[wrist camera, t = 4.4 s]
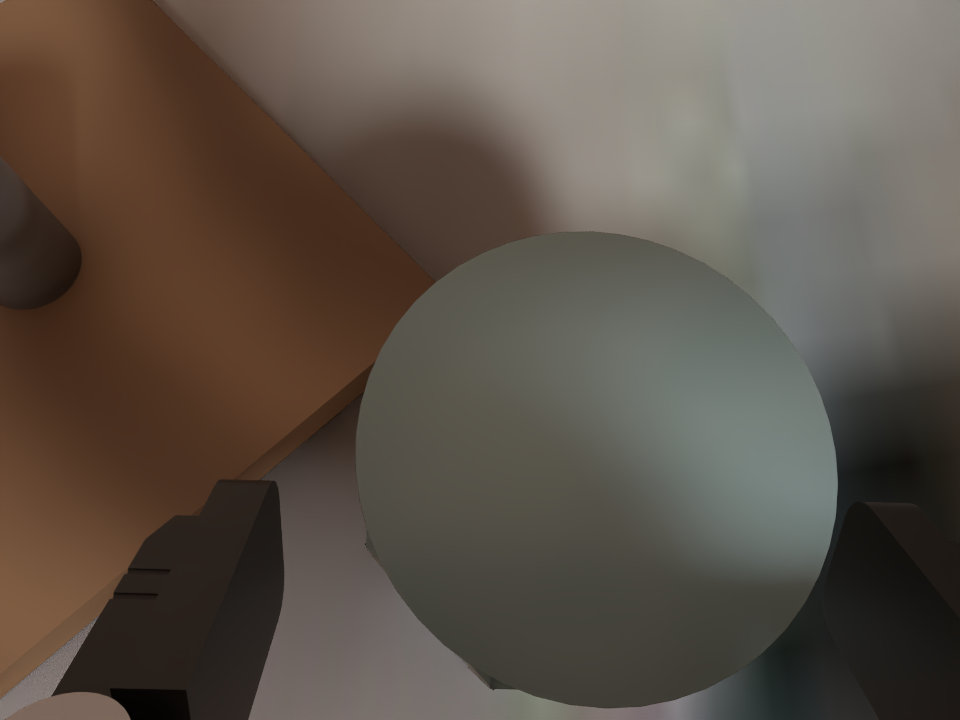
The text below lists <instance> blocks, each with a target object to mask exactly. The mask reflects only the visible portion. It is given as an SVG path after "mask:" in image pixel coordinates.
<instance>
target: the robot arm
mask: <svg viewBox="0 0 960 720" xmlns="http://www.w3.org/2000/svg"><path fill="white" fill-rule="evenodd" d="M283 590H284V560H283V546H282V531H281V516H280V502H279V491H278V486H277V484H276V482H275V481H261V480H231V479H220V480H218V481H217V483H216V484H215V486H214V488H213V490H212V492H211V494H210V495H209V497H208V499H207V501H206V503H205V505H204V507H203V509H202V511H201V513H200V515H199V516H190V515H175V516H174V517H173V518H171V519H170V520H169V521H167V522H166V523H165V524H164V525H162V526H161V527H160V528H159V529H157V530H156V531H155V532H154V533H152V534H151V535H150V536H149V537H147V538H146V539H145V540H144V542H143V544H142V545H141V547H140V549H139V550H138V552H137V554H136V555H135V557H134V559H133V560H132V562H131V564H130V565H129V567H128V573H127V574H124V575H123V577H122V579H121V580H120V582H119V584H118V586H117V587H116V589H115V591H114V592H113V598H112V599H109V601H108V602H107V604H106V606H105V607H104V609H103V611H102V612H101V614H100V616H99V617H98V619H97V621H96V622H95V624H94V626H93V627H92V629H91V631H90V632H89V634H88V636H87V638H86V639H85V641H84V643H83V644H82V646H81V648H80V649H79V651H78V653H77V654H76V656H75V658H74V659H73V661H72V663H71V664H70V666H69V668H68V669H67V671H66V673H65V674H64V676H63V678H62V679H61V681H60V683H59V684H58V686H57V688H56V690H55V691H54V693H53V694H52V696H51V697H48V698H46V699H43V700H40V701H38V702H35V703H33V704H31V705H29V706H27V707H25V708H23V709H21V710H19V711H17V712H16V713H14V714H13V715H11V716H9V717H8V718H7V719H5V720H248V718H249V715H250V711H251V708H252V705H253V702H254V698H255V695H256V692H257V688H258V685H259V682H260V678H261V675H262V672H263V669H264V665H265V662H266V659H267V655H268V652H269V649H270V645H271V642H272V639H273V635H274V632H275V629H276V626H277V622H278V619H279V615H280V611H281V605H282V599H283ZM822 603H823V614H824V619H825V622H826V626H827V628H828V631H829V633H830V635H831V637H832V639H833V640H834V642H835V644H836V645H837V647H838V649H839V651H840V652H841V654H842V656H843V658H844V659H845V661H846V663H847V664H848V666H849V668H850V670H851V671H852V673H853V675H854V677H855V678H856V680H857V682H858V683H859V685H860V687H861V689H862V690H863V692H864V694H865V696H866V697H867V699H868V701H869V702H870V704H871V706H872V708H873V709H874V711H875V713H876V715H877V716H878V718H879V720H960V545H959V544H958V543H956V542H955V541H949V540H948V539H947V537H946V536H945V535H944V534H943V533H942V532H941V531H940V530H939V529H938V527H937V526H936V525H935V524H934V523H933V522H932V521H931V520H930V519H929V517H928V516H927V515H926V514H925V513H924V512H923V511H922V510H921V509H920V508H919V507H918V506H916V505H914V504H909V503H879V502H856V503H854V504H853V505H851V507H850V508H849V509H848V511H847V513H846V516H845V519H844V522H843V525H842V529H841V532H840V535H839V539H838V542H837V545H836V548H835V552H834V555H833V558H832V562H831V565H830V568H829V571H828V575H827V578H826V581H825V585H824V589H823V598H822Z"/></svg>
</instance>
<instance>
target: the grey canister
mask: <svg viewBox="0 0 960 720" xmlns="http://www.w3.org/2000/svg"><path fill="white" fill-rule="evenodd" d="M355 467H356V475H357V484H358V492H359V500H360V504H361V507H362V511H363V515H364V519H365V523H366V527H367V539H366V543H365V545H366V548H367V550H368V551H369V552H370V553H371V555H372V556H373V557H374V558H375V559H376V561H377V562H378V563H379V564H380V566H381V567H382V568H383V569H384V571H385V572H386V573H387V575H388V576H389V578H390V580H391V582H392V583H393V585H394V587H395V589H396V590H397V592H398V593H399V595H400V596H401V597H402V599H403V600H404V601H405V603H406V604H407V605H408V606H409V608H410V609H411V610H412V612H413V613H414V614H415V616H416V617H417V618H418V619H419V620H420V621H421V622H422V623H423V624H424V625H425V626H426V627H427V628H428V629H429V630H430V631H431V632H432V633H433V634H434V635H435V636H436V637H437V638H438V639H439V640H440V641H441V642H442V643H443V644H444V645H445V646H446V647H448V648H449V649H450V650H452V651H453V652H454V653H455V654H457V655H458V656H459V657H460V658H461V659H462V660H463V661H464V662H465V663H466V665H467V666H468V668H469V669H470V670H471V671H472V672H473V673H474V674H475V675H476V676H477V677H478V678H479V679H480V680H481V681H482V682H483V683H484V684H486V685H487V686H488V687H489V688H490V689H492V690H494V689H518V690H521V691H523V692H526V693H528V694H531V695H533V696H536V697H540V698H544V699H548V700H552V701H556V702H561V703H565V704H569V705H577V706H587V707H597V708H622V707H641V706H646V705H651V704H657V703H662V702H667V701H672V700H676V699H679V698H681V697H684V696H687V695H690V694H693V693H695V692H698V691H701V690H704V689H707V688H708V687H710V686H712V685H714V684H716V683H718V682H720V681H722V680H723V679H725V678H727V677H729V676H731V675H733V674H735V673H736V672H738V671H739V670H740V669H742V668H743V667H744V666H746V665H747V664H748V663H750V662H751V661H752V660H754V659H755V658H756V657H758V656H759V655H760V654H762V653H763V652H764V651H765V650H766V649H767V648H768V647H769V646H770V645H771V644H772V643H773V642H774V641H775V640H776V639H777V638H778V637H779V636H780V635H781V634H782V633H783V632H784V631H785V630H786V628H787V627H788V625H789V624H790V623H791V621H792V620H793V619H794V617H795V616H796V614H797V613H798V612H799V610H800V609H801V608H802V606H803V605H804V603H805V601H806V600H807V598H808V596H809V594H810V592H811V590H812V588H813V586H814V584H815V582H816V580H817V579H818V577H819V574H820V571H821V569H822V566H823V563H824V560H825V557H826V555H827V552H828V549H829V546H830V541H831V536H832V531H833V526H834V521H835V516H836V504H837V488H838V481H837V466H836V453H835V448H834V443H833V438H832V433H831V428H830V423H829V420H828V417H827V414H826V411H825V408H824V405H823V402H822V399H821V396H820V393H819V391H818V389H817V387H816V385H815V383H814V380H813V378H812V376H811V374H810V372H809V370H808V368H807V366H806V364H805V363H804V361H803V360H802V358H801V356H800V355H799V353H798V352H797V350H796V348H795V347H794V345H793V344H792V342H791V341H790V339H789V338H788V337H787V336H786V334H785V333H784V332H783V331H782V329H781V328H780V327H779V326H778V324H777V323H776V322H775V321H774V319H773V318H772V317H771V316H770V315H769V314H768V313H767V312H766V311H765V310H764V309H763V308H762V307H761V306H760V305H759V304H758V303H757V302H756V301H755V300H754V299H753V298H752V297H751V296H750V295H748V294H747V293H746V292H744V291H743V290H742V289H741V288H739V287H738V286H737V285H736V284H734V283H733V282H732V281H730V280H729V279H728V278H726V277H725V276H723V275H722V274H720V273H718V272H717V271H715V270H714V269H712V268H710V267H709V266H707V265H705V264H704V263H702V262H700V261H698V260H696V259H694V258H692V257H689V256H687V255H685V254H683V253H681V252H679V251H677V250H674V249H671V248H668V247H665V246H663V245H660V244H657V243H654V242H651V241H648V240H643V239H639V238H634V237H630V236H625V235H620V234H611V233H601V232H560V233H552V234H545V235H537V236H533V237H529V238H525V239H521V240H517V241H513V242H509V243H507V244H504V245H501V246H499V247H496V248H494V249H491V250H489V251H486V252H484V253H482V254H480V255H478V256H476V257H474V258H472V259H470V260H469V261H467V262H465V263H463V264H461V265H459V266H458V267H456V268H455V269H454V270H452V271H451V272H449V273H448V274H447V275H445V276H444V277H442V278H441V279H440V280H438V281H437V282H435V283H434V284H433V285H432V286H431V287H430V288H429V289H428V290H427V291H426V292H425V293H424V294H423V295H422V296H421V297H419V298H418V299H417V300H416V301H415V302H414V303H413V305H412V306H411V307H410V308H409V310H408V311H407V312H406V313H405V314H404V316H403V317H402V318H401V319H400V320H399V322H398V323H397V324H396V326H395V327H394V329H393V331H392V332H391V334H390V335H389V337H388V339H387V340H386V342H385V344H384V345H383V347H382V348H381V350H380V353H379V355H378V357H377V359H376V362H375V364H374V366H373V368H372V371H371V373H370V375H369V378H368V381H367V385H366V388H365V392H364V395H363V398H362V402H361V406H360V412H359V419H358V425H357V432H356V465H355Z"/></svg>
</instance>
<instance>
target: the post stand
mask: <svg viewBox="0 0 960 720" xmlns="http://www.w3.org/2000/svg"><path fill="white" fill-rule="evenodd" d="M434 283H435V281H434V280H433V279H432V278H431V277H430V276H429V275H428V274H427V273H426V272H425V271H424V270H423V269H422V268H421V267H420V266H419V265H418V264H417V263H416V262H415V261H414V260H413V259H412V258H411V257H410V256H409V255H408V254H407V253H406V252H405V251H404V250H403V249H402V248H401V247H400V246H399V245H398V244H397V243H396V242H395V241H394V240H393V239H392V238H391V237H390V236H389V235H388V234H387V233H386V232H385V231H384V230H383V229H382V228H381V227H380V226H379V225H378V224H377V223H376V222H375V221H374V220H373V219H372V218H371V217H370V216H369V215H368V214H366V213H365V212H364V211H363V210H362V209H361V208H360V207H359V206H358V205H357V204H356V203H355V202H354V201H353V200H352V199H351V198H350V197H349V196H348V195H347V194H346V193H345V192H344V191H343V190H342V189H341V188H340V187H339V186H338V185H337V184H336V183H335V182H334V181H333V180H332V179H331V178H330V177H329V176H328V175H327V174H326V173H325V172H324V171H323V170H322V169H321V168H320V167H319V166H318V165H317V164H316V163H315V162H314V161H313V160H312V159H311V158H310V157H309V156H308V155H307V154H306V153H305V152H304V151H303V150H302V149H301V148H300V147H299V146H298V145H297V144H296V143H295V142H294V141H293V140H292V139H291V138H290V137H289V136H288V135H287V134H286V133H285V132H284V131H283V130H282V129H281V128H280V127H279V126H278V125H277V124H276V123H275V122H274V121H273V120H272V119H271V118H270V117H269V116H268V115H267V114H266V113H265V112H264V111H263V110H262V109H261V108H260V107H259V106H258V105H257V104H256V103H255V102H254V101H253V100H252V99H251V98H250V97H249V96H248V95H247V94H246V93H245V92H244V91H243V90H242V89H241V88H240V87H239V86H238V85H237V84H236V83H235V82H234V81H233V80H232V79H231V78H230V77H229V76H228V75H227V74H226V73H225V72H224V71H223V70H222V69H221V68H220V67H219V66H218V65H217V64H216V63H214V62H213V61H212V60H211V59H210V58H209V57H208V56H207V55H206V54H205V53H204V52H203V51H202V50H201V49H200V48H199V47H198V46H197V45H196V44H195V43H194V42H193V41H192V40H191V39H190V38H189V37H188V36H187V35H186V34H185V33H184V32H183V31H182V30H181V29H180V28H179V27H178V26H177V25H176V24H175V23H174V22H173V21H172V20H171V19H170V18H169V17H168V16H167V15H166V14H165V13H164V12H163V11H162V10H161V9H160V8H159V7H158V6H157V5H156V4H155V3H154V2H153V1H152V0H6V1H4V2H2V3H1V4H0V698H1V697H3V696H4V695H5V694H6V693H7V692H9V691H10V690H11V689H12V688H13V687H15V686H16V685H17V684H18V683H19V682H20V681H22V680H23V679H24V678H25V677H26V676H28V675H29V674H30V673H31V672H32V671H33V670H35V669H36V668H37V667H38V666H39V665H41V664H42V663H43V662H44V661H45V660H47V659H48V658H49V657H50V656H51V655H52V654H54V653H55V652H56V651H57V650H58V649H60V648H61V647H62V646H63V645H64V644H65V643H67V642H68V641H69V640H70V639H71V638H73V637H74V636H75V635H76V634H77V633H79V632H80V631H81V630H82V629H83V628H84V627H86V626H87V625H88V624H89V623H90V622H92V621H93V620H94V619H95V618H96V617H97V616H99V615H100V614H101V612H102V611H103V609H104V607H105V606H106V604H107V602H108V601H109V599H112V598H113V592H114V591H115V589H116V587H117V586H118V584H119V582H120V580H121V579H122V577H123V575H124V574H127V573H128V567H129V565H130V564H131V562H132V560H133V559H134V557H135V555H136V554H137V552H138V550H139V549H140V547H141V545H142V544H143V542H144V540H145V539H146V538H147V537H149V536H150V535H151V534H152V533H154V532H155V531H156V530H157V529H159V528H160V527H161V526H162V525H164V524H165V523H166V522H167V521H169V520H170V519H171V518H173V517H174V516H175V515H190V516H199V515H200V513H201V511H202V509H203V507H204V505H205V503H206V501H207V499H208V497H209V495H210V494H211V492H212V490H213V488H214V486H215V484H216V483H217V481H218V480H220V479H231V480H260V479H261V478H262V477H263V476H265V475H266V474H267V473H268V472H269V471H271V470H272V469H273V468H274V467H275V466H276V465H278V464H279V463H280V462H281V461H282V460H284V459H285V458H286V457H287V456H288V455H290V454H291V453H292V452H293V451H294V450H295V449H297V448H298V447H299V446H300V445H301V444H303V443H304V442H305V441H306V440H307V439H308V438H310V437H311V436H312V435H313V434H314V433H316V432H317V431H318V430H319V429H320V428H322V427H323V426H324V425H325V424H326V423H327V422H329V421H330V420H331V419H332V418H333V417H335V416H336V415H337V414H338V413H339V412H340V411H342V410H343V409H344V408H345V407H346V406H348V405H349V404H350V403H351V402H352V401H354V400H355V399H356V398H357V397H358V396H359V395H361V394H362V393H363V392H364V391H365V388H366V385H367V381H368V378H369V375H370V373H371V371H372V368H373V366H374V364H375V362H376V359H377V357H378V355H379V353H380V350H381V348H382V347H383V345H384V344H385V342H386V340H387V339H388V337H389V335H390V334H391V332H392V331H393V329H394V327H395V326H396V324H397V323H398V322H399V320H400V319H401V318H402V317H403V316H404V314H405V313H406V312H407V311H408V310H409V308H410V307H411V306H412V305H413V303H414V302H415V301H416V300H417V299H418V298H419V297H421V296H422V295H423V294H424V293H425V292H426V291H427V290H428V289H429V288H430V287H431V286H432V285H433V284H434Z"/></svg>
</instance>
